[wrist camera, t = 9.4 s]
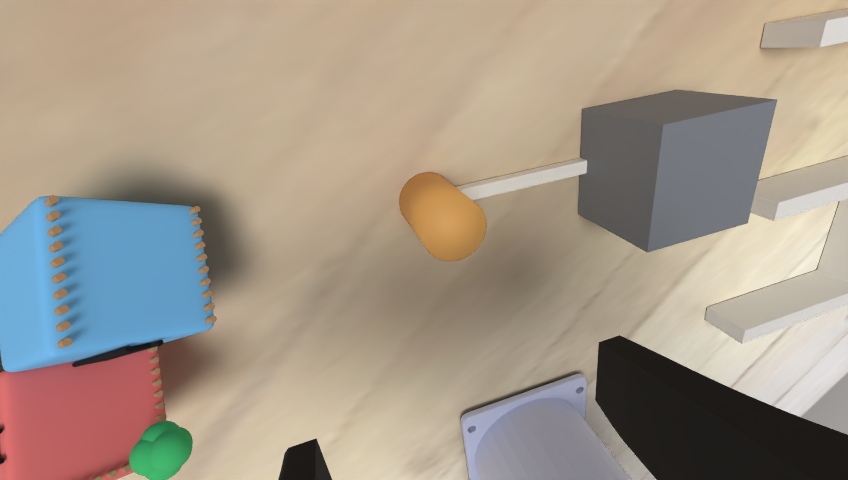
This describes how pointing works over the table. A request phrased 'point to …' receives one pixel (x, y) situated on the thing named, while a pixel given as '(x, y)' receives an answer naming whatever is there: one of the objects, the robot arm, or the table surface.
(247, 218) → the table surface
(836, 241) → the lane rack
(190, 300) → the building blocks
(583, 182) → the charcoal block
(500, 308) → the table surface
